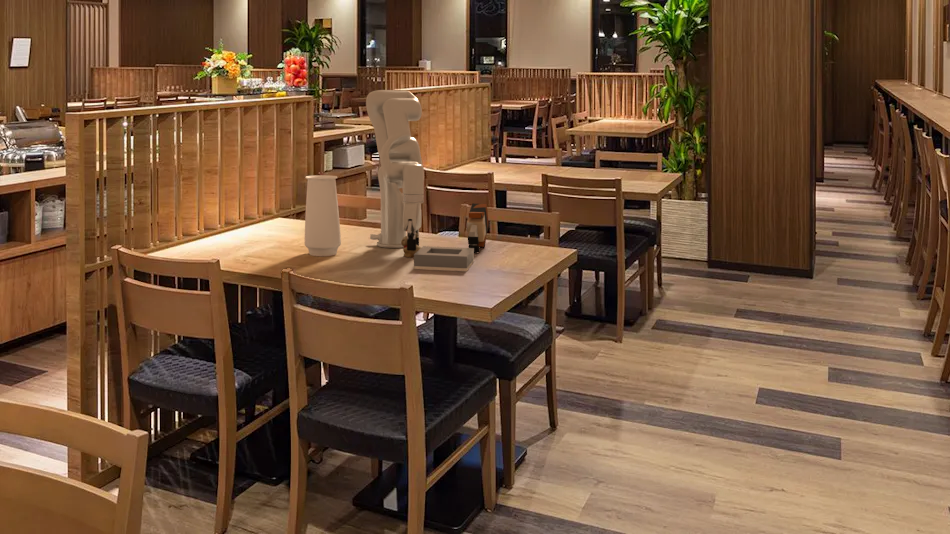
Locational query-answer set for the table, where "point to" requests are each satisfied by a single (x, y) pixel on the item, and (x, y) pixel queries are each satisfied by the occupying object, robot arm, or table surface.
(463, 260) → the well
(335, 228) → the vase
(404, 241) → the chocolate bunny
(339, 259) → the table surface
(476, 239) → the toy
